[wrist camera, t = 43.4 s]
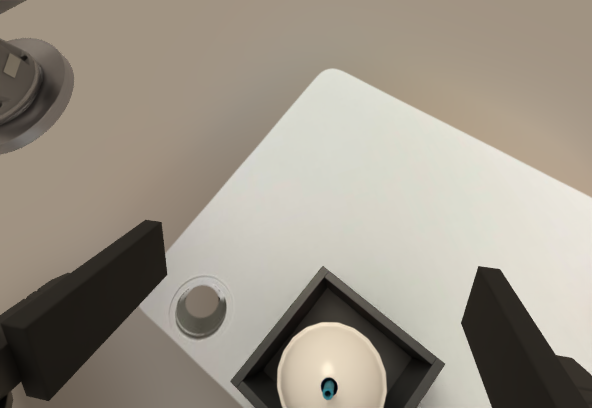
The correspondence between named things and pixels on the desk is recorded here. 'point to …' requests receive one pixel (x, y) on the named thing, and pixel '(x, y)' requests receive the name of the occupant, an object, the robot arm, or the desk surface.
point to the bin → (354, 313)
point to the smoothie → (331, 370)
